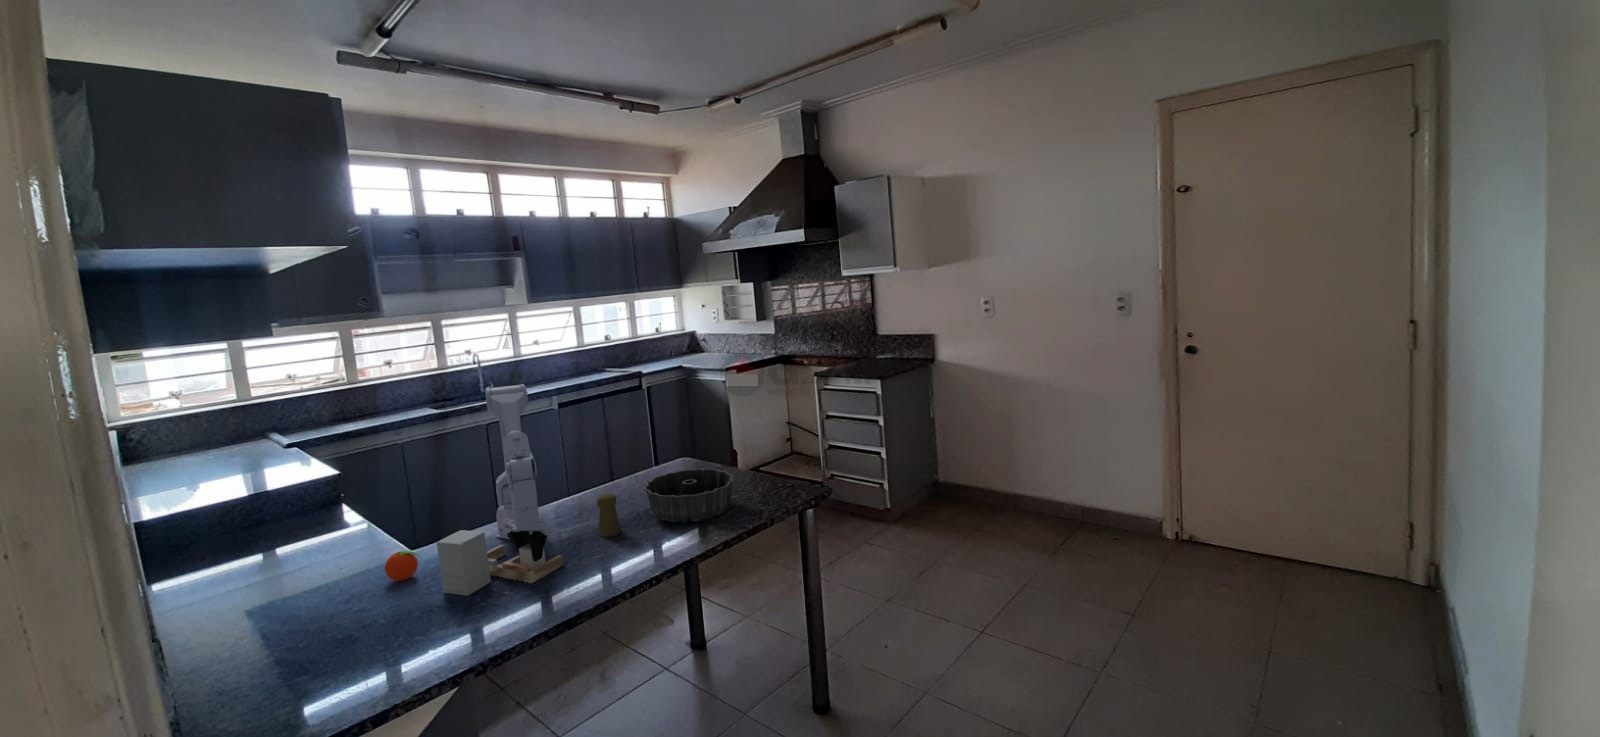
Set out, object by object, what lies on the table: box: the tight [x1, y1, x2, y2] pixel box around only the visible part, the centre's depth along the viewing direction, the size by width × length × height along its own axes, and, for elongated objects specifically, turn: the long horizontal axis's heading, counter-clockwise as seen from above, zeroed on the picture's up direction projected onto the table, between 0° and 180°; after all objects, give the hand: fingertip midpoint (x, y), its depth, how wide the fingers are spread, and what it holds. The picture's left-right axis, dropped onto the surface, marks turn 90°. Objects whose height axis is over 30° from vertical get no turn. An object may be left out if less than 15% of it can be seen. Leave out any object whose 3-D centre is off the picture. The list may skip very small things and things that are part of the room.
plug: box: [518, 543, 546, 571], centre depth 159 cm, size 4×4×6 cm
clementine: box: [384, 550, 422, 582], centre depth 157 cm, size 8×7×7 cm
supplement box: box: [436, 529, 491, 597], centre depth 151 cm, size 7×7×13 cm
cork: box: [596, 493, 622, 538], centre depth 180 cm, size 6×6×11 cm
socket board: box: [487, 544, 564, 584], centre depth 160 cm, size 21×10×4 cm, turn 66°
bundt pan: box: [643, 468, 734, 524], centre depth 192 cm, size 26×26×10 cm
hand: (531, 558), depth 159 cm, fingers closed on plug, 4 cm apart
